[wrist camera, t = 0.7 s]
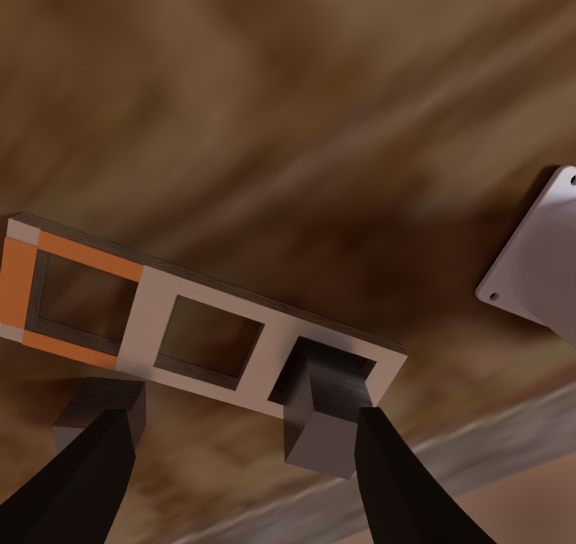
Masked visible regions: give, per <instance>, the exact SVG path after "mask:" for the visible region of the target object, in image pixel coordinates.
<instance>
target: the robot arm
mask: <svg viewBox="0 0 576 544" xmlns="http://www.w3.org/2000/svg"><path fill="white" fill-rule="evenodd" d="M573 176H575V180H574V182H573V183H571V182H570V181H571V178H572V177H573ZM493 293H495V295H494V296H493V297H492V298H490V296H491V295H492V294H493ZM475 295H476V297H477V298H478V299H480V300H481V301H483V302H486V303H488V304H491V305H493V306H496V307H498V308H501V309H503V310H506V311H508V312H511V313H514V314H516V315H519V316H521V317H524V318H526V319H529V320H531V321H534V322H537V323H539V324H542V325H544V326H547V327H549V328H550V329H551V330H553V331H554V332H555V333H556V334H558V335H559V336H560V337H561V338H563V339H564V340H565V341H567V342H568V343H569V344H570V345H572V346H573V347H574V348H576V167H573V166H568V165H564V166H561V167H559V168H558V169H557V170H556V171H555V172H554V174H553V175H552V177H551V178H550V180H549V181H548V183H547V184H546V186H545V187H544V189H543V190H542V192H541V193H540V195H539V196H538V198H537V199H536V201H535V202H534V204H533V205H532V207H531V208H530V210H529V211H528V213H527V214H526V216H525V217H524V219H523V220H522V222H521V223H520V225H519V226H518V227H517V229H516V230H515V232H514V233H513V235H512V236H511V238H510V239H509V241H508V242H507V244H506V245H505V247H504V248H503V250H502V251H501V253H500V254H499V256H498V257H497V259H496V260H495V262H494V263H493V265H492V266H491V268H490V269H489V271H488V272H487V274H486V275H485V277H484V278H483V280H482V281H481V283H480V284H479V286H478V287H477V289H476V291H475ZM135 458H136V456H135V452H134V447H133V442H132V437H131V432H130V427H129V422H128V417H127V412H126V409H105V410H104V411H103V412H102V413H101V414H100V415H99V416H98V417H97V418H96V419H95V420H94V421H93V422H92V423H90V424H89V425H88V426H87V427H86V428H85V429H84V430H83V431H82V432H81V433H80V434H79V435H78V436H77V437H76V438H75V439H74V440H73V441H72V442H71V443H70V444H69V445H68V446H66V447H65V448H64V449H63V450H62V451H61V452H60V453H59V454H58V455H57V456H56V457H55V458H54V459H53V460H51V461H50V462H49V463H48V464H47V465H46V466H45V467H44V468H43V469H42V470H41V471H39V472H38V473H37V474H36V475H35V476H34V477H33V478H32V479H30V480H29V481H28V482H27V483H26V484H25V485H23V486H22V487H21V488H20V489H19V490H18V491H17V492H15V493H14V494H13V495H12V496H11V497H10V498H8V499H7V500H6V501H5V502H4V503H2V504H1V505H0V544H104V542H105V540H106V538H107V535H108V533H109V531H110V528H111V526H112V524H113V521H114V519H115V516H116V514H117V512H118V509H119V507H120V504H121V502H122V500H123V497H124V495H125V492H126V489H127V486H128V482H129V479H130V476H131V472H132V469H133V465H134V462H135ZM354 458H355V465H356V472H357V478H358V484H359V490H360V493H361V497H362V501H363V505H364V509H365V512H366V516H367V520H368V524H369V527H370V531H371V534H372V538H373V542H374V544H497V543H496V542H495V541H494V540H493V539H491V538H490V537H489V536H488V535H487V534H486V533H485V532H484V531H483V530H482V529H481V528H480V527H479V526H478V525H477V524H476V523H475V522H474V521H473V520H472V519H471V518H470V517H469V516H468V515H467V514H466V513H465V512H464V511H463V510H462V509H461V508H460V507H459V506H458V505H457V503H456V502H454V500H453V499H452V498H451V497H450V496H449V495H448V494H447V492H446V491H445V490H444V489H443V488H442V487H441V486H440V485H439V483H438V482H437V481H436V480H435V479H434V478H433V476H432V475H431V474H430V473H429V472H428V471H427V469H426V468H425V467H424V466H423V464H422V463H421V462H420V461H419V459H418V458H417V457H416V456H415V454H414V453H413V452H412V451H411V449H410V448H409V447H408V445H407V444H406V443H405V441H404V440H403V439H402V437H401V436H400V435H399V433H398V432H397V431H396V429H395V428H394V427H393V425H392V424H391V422H390V421H389V419H388V418H387V417H386V415H385V414H384V412H383V411H382V410H381V409H380V408H379V407H360V408H359V417H358V425H357V434H356V442H355V451H354Z"/></svg>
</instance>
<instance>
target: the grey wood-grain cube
mask: <svg viewBox="0 0 576 544" xmlns="http://www.w3.org/2000/svg"><path fill="white" fill-rule="evenodd" d="M105 409H126V412H127V417H128V422H129V427H130V432H131V437H132V442H133V447H134V452H135V450H136V447H137V445H138V443H139V440H140V438H141V435H142V433H143V430H144V428H145V426H146V391H145V382H144V381H131V380H119V379H107V378H95V377H87V378H86V380H85V381H84V383H83V384H82V385H81V387H80V388H79V390H78V391H77V392H76V394H75V395H74V397H73V398H72V400H71V401H70V402H69V404H68V405H67V407H66V408H65V409H64V411H63V412H62V414H61V415H60V417H59V418H58V419H57V421H56V422H55V424H54V425H53V433H54V439H55V446H56V452H57V455H58V454H59V453H60V452H61V451H62V450H63V449H64V448H65V447H66V446H68V445H69V444H70V443H71V442H72V441H73V440H74V439H75V438H76V437H77V436H78V435H79V434H80V433H81V432H82V431H83V430H84V429H85V428H86V427H87V426H88V425H89V424H90V423H92V422H93V421H94V420H95V419H96V418H97V417H98V416H99V415H100V414H101V413H102V412H103V411H104V410H105Z"/></svg>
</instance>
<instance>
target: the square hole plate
mask: <svg viewBox="0 0 576 544" xmlns="http://www.w3.org/2000/svg"><path fill="white" fill-rule="evenodd" d="M49 253H53V254H56V255H59V256H62V257H65V258H68V259H71V260H74V261H77V262H80V263H83V264H86V265H89V266H92V267H94V268H97V269H100V270H103V271H106V272H109V273H112V274H115V275H118V276H121V277H124V278H127V279H130V280H133V281H136V282H139V284H138V288H137V291H136V295H135V298H134V302H133V305H132V309H131V312H130V316H129V319H128V323H127V326H126V330H125V333H124V337H123V340H122V343H121V342H117V341H114V340H111V339H107V338H104V337H101V336H98V335H94V334H91V333H88V332H84V331H81V330H78V329H75V328H71V327H68V326H65V325H61V324H58V323H55V322H52V321H48V320H45V319H42V318H38V315H39V309H40V304H41V298H42V293H43V287H44V281H45V276H46V270H47V265H48V259H49ZM179 295H181V296H184V297H187V298H190V299H193V300H196V301H199V302H202V303H205V304H208V305H211V306H214V307H216V308H219V309H222V310H225V311H228V312H231V313H234V314H237V315H240V316H243V317H246V318H249V319H252V320H255V321H258V322H261V323H262V324H261V326H260V328H259V330H258V333H257V335H256V337H255V339H254V342H253V344H252V346H251V348H250V351H249V353H248V355H247V357H246V360H245V362H244V364H243V366H242V369H241V371H240V373H239V375H238V378H236V377H232V376H229V375H226V374H222V373H219V372H216V371H213V370H209V369H206V368H203V367H199V366H196V365H193V364H190V363H186V362H183V361H180V360H176V359H173V358H170V357H167V356H163V355H160V354H159V352H160V349H161V346H162V344H163V341H164V338H165V335H166V332H167V329H168V326H169V323H170V320H171V317H172V314H173V311H174V308H175V305H176V302H177V299H178V296H179ZM299 335H300V336H303V337H306V338H309V339H312V340H315V341H318V342H321V343H323V344H326V345H329V346H332V347H335V348H338V349H341V350H344V351H347V352H350V353H353V354H356V355H359V356H362V357H365V358H367V360H366V361H365V363H364V365H363V366H362V368H361V371H362V374H363V377H364V380H365V383H366V386H367V389H368V392H369V395H370V398H371V401H372V404H373V407H376V405H377V404H378V402H379V401H380V399H381V398H382V396H383V394H384V393H385V391H386V390H387V388H388V387H389V385H390V383H391V382H392V380H393V379H394V377H395V376H396V374H397V373H398V371H399V369H400V368H401V366H402V365H403V363H404V362H405V360H406V359H407V357H408V355H407V353H406V351H405V350H404V348H403V346H402V344H399V343H397V342H394V341H391V340H388V339H385V338H382V337H379V336H377V335H374V334H371V333H368V332H365V331H362V330H359V329H357V328H354V327H351V326H348V325H345V324H342V323H340V322H337V321H334V320H331V319H328V318H325V317H322V316H320V315H317V314H314V313H311V312H308V311H305V310H302V309H300V308H297V307H294V306H291V305H288V304H285V303H282V302H280V301H277V300H274V299H271V298H268V297H265V296H262V295H260V294H257V293H254V292H251V291H248V290H245V289H243V288H240V287H237V286H234V285H231V284H228V283H225V282H223V281H220V280H217V279H214V278H211V277H208V276H205V275H203V274H200V273H197V272H194V271H191V270H188V269H185V268H183V267H180V266H177V265H174V264H171V263H168V262H166V261H163V260H160V259H157V258H154V257H151V256H148V255H146V254H143V253H140V252H137V251H134V250H131V249H128V248H126V247H123V246H120V245H117V244H114V243H111V242H108V241H106V240H103V239H100V238H97V237H94V236H91V235H89V234H86V233H83V232H80V231H77V230H74V229H71V228H69V227H66V226H63V225H60V224H57V223H54V222H51V221H49V220H46V219H43V218H40V217H37V216H34V215H31V214H29V213H26V212H23V213H20V214H18V215H15V216H13V217H10V218H9V220H8V228H7V235H6V237H5V241H4V249H3V257H2V264H1V272H0V337H3V338H7V339H10V340H14V341H17V342H20V343H22V344H23V345H26V346H29V347H33V348H36V349H40V350H43V351H47V352H50V353H54V354H57V355H61V356H64V357H67V358H71V359H74V360H78V361H81V362H85V363H88V364H92V365H95V366H98V367H102V368H105V369H109V370H112V371H114V370H117V371H120V372H124V373H127V374H131V375H134V376H137V377H141V378H144V379H148V380H151V381H155V382H158V383H162V384H165V385H168V386H172V387H175V388H179V389H182V390H186V391H189V392H193V393H196V394H199V395H203V396H206V397H210V398H213V399H217V400H220V401H224V402H227V403H230V404H234V405H237V406H241V407H244V408H248V409H251V410H255V411H258V412H261V413H265V414H268V415H272V416H275V417H279V418H282V419H283V392H282V391H278V390H275V389H273V387H274V385H275V383H276V381H277V379H278V377H279V374H280V372H281V370H282V368H283V366H284V364H285V362H286V360H287V358H288V356H289V354H290V352H291V350H292V348H293V346H294V344H295V342H296V340H297V338H298V336H299Z"/></svg>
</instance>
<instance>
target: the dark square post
mask: <svg viewBox="0 0 576 544" xmlns="http://www.w3.org/2000/svg"><path fill="white" fill-rule="evenodd" d="M282 386H283V419H284V452H285V463H287V464H291V465H295V466H299V467H303V468H306V469H310V470H314V471H318V472H321V473H325V474H329V475H333V476H336V477H340V478H344V479H348V480H349V479H350V478H351V476H352V475H353V473H354V472H355V470H356V465H355V458H354V451H355V442H356V434H357V425H358V417H359V408H360V407H373V404H372V401H371V398H370V395H369V392H368V389H367V386H366V383H365V380H364V377H363V374H362V371H361V368H360V365H359V362H358V359H357V357H356V355H355V354H352V353H349V352H346V351H343V350H340V349H337V348H334V347H331V346H328V345H325V344H322V343H319V342H316V341H313V340H310V339H307V338H304V339H303V341H302V343H301V345H300V347H299V349H298V351H297V353H296V355H295V357H294V359H293V361H292V363H291V365H290V367H289V369H288V371H287V373H286V375H285V377H284V379H283V381H282Z"/></svg>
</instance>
